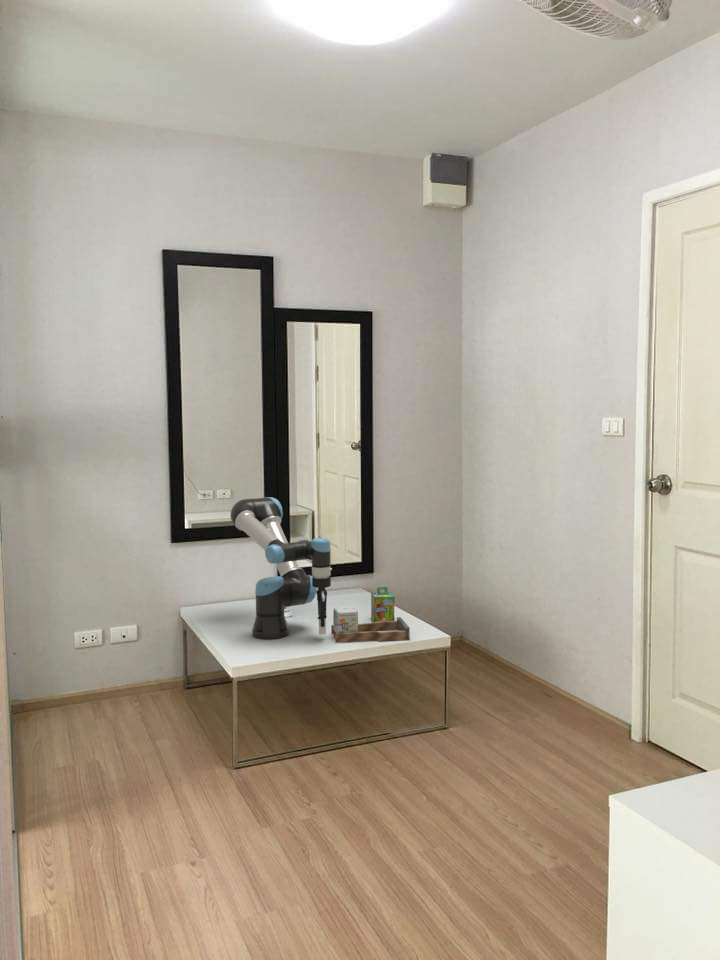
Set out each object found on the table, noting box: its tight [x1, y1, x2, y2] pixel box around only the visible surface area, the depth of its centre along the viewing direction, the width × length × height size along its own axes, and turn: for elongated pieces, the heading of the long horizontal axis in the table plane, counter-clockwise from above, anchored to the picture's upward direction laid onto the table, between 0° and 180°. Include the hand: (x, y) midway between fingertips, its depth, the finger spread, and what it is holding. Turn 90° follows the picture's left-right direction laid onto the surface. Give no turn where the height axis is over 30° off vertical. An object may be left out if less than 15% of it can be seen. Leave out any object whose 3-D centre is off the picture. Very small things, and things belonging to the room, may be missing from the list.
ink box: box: [332, 606, 359, 638], centre depth 333 cm, size 9×9×12 cm
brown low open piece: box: [330, 616, 411, 644], centre depth 335 cm, size 30×17×5 cm, turn 100°
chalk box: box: [370, 586, 396, 622], centre depth 359 cm, size 9×9×15 cm
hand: (322, 633), depth 331 cm, fingers closed
